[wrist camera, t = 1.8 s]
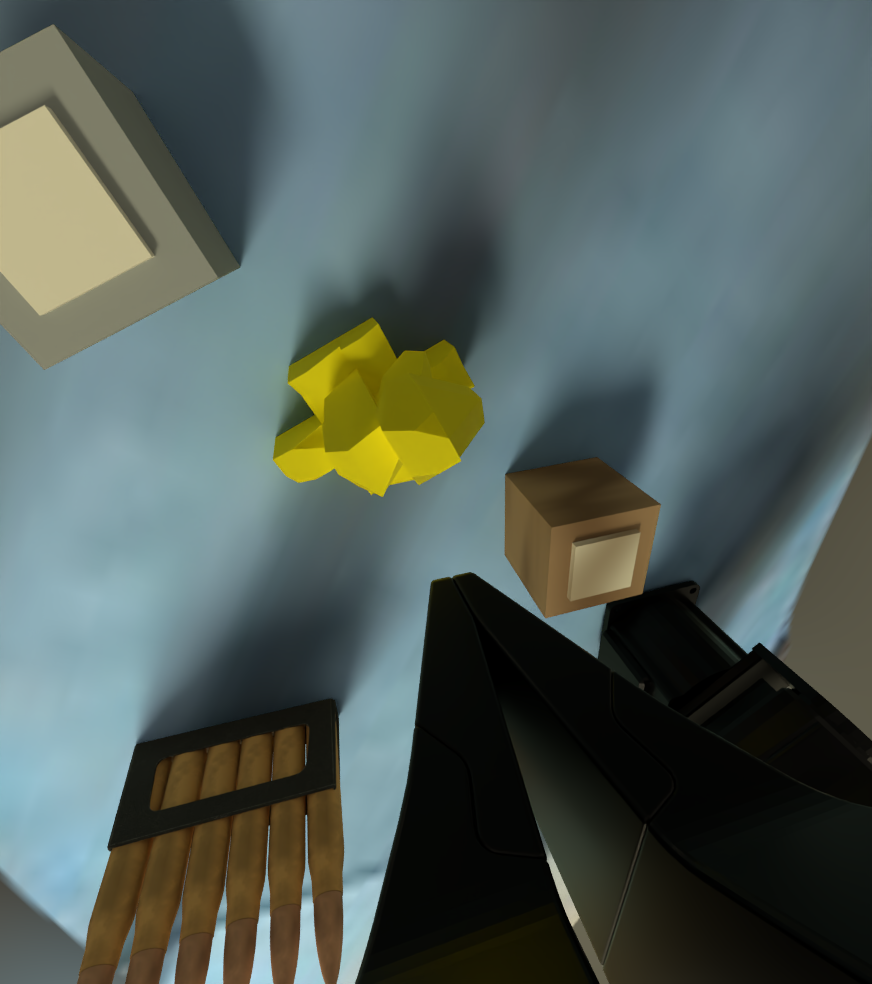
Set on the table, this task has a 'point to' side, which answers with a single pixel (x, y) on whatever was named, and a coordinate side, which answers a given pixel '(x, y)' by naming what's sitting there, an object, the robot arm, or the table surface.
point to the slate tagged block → (89, 205)
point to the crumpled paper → (379, 412)
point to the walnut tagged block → (578, 534)
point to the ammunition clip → (224, 849)
